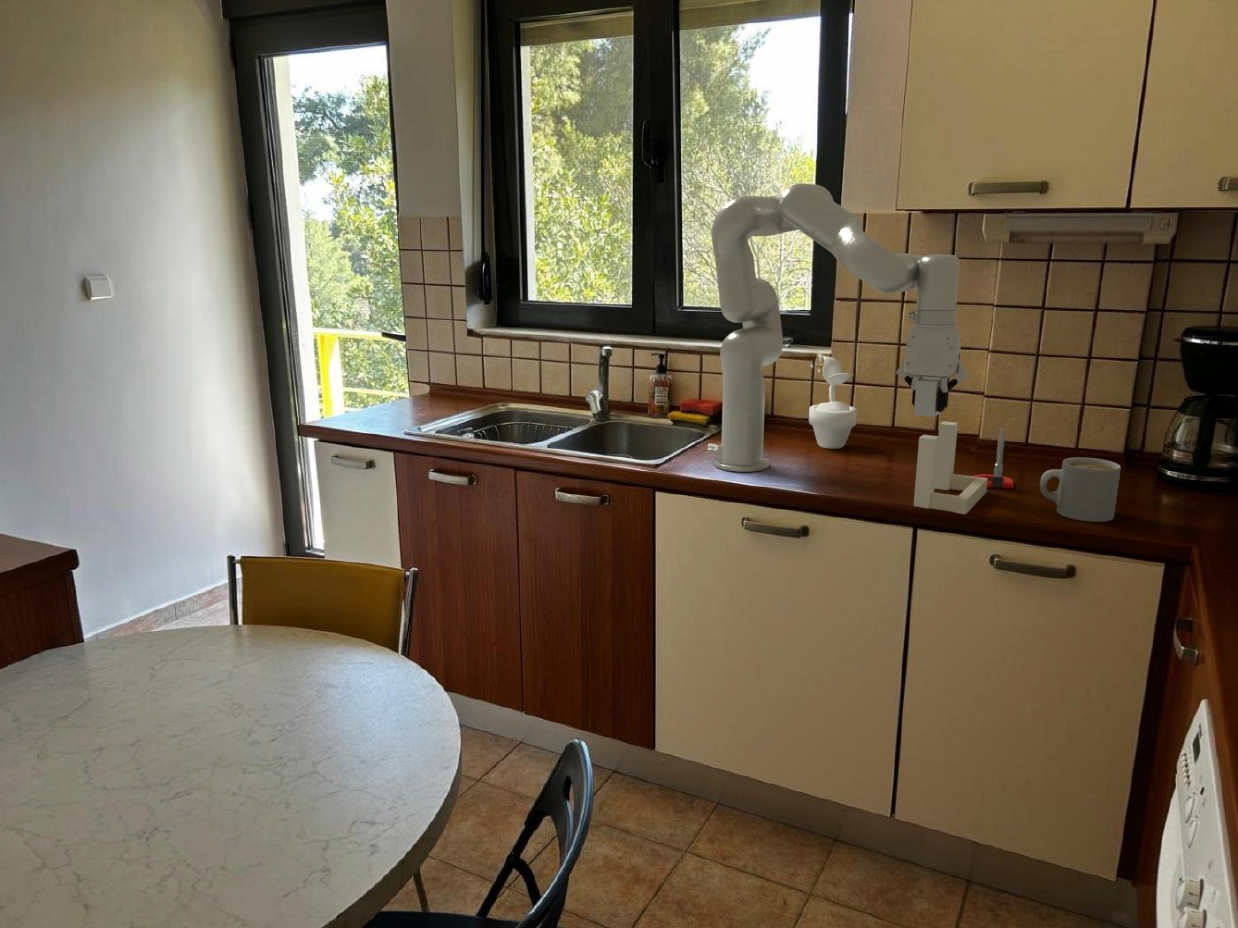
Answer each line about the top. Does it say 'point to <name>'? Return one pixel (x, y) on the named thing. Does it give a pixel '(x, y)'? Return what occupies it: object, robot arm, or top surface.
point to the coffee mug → (1084, 488)
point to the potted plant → (832, 409)
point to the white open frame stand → (944, 474)
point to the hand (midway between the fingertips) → (929, 409)
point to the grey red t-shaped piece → (998, 469)
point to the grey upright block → (927, 396)
